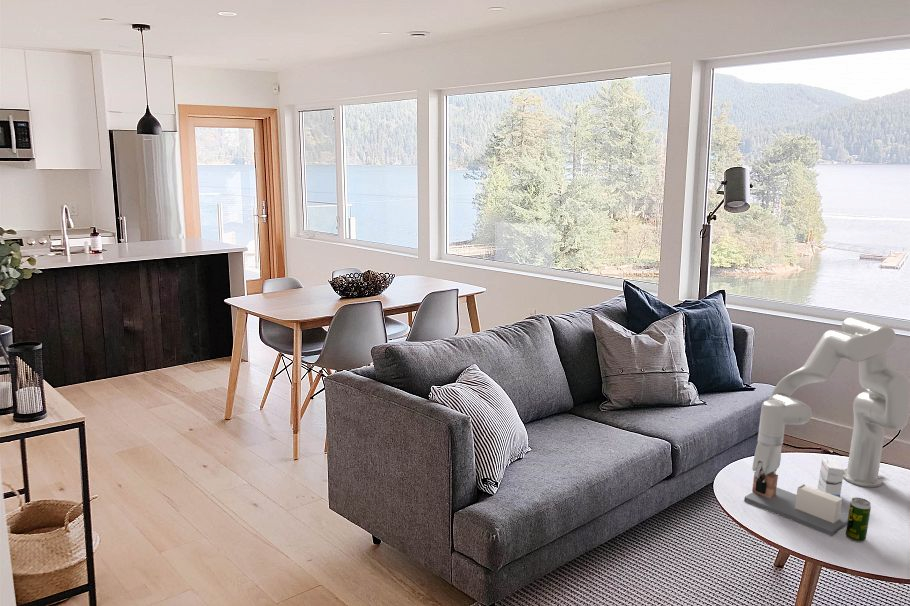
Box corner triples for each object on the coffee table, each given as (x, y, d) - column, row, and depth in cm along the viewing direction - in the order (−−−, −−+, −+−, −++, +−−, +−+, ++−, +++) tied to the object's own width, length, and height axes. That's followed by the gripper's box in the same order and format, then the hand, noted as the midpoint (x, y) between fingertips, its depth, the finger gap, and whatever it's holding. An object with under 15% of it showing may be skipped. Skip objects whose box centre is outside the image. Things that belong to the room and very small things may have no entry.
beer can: (850, 531, 224) (855, 495, 221) (868, 539, 220) (874, 502, 217) (842, 537, 221) (847, 500, 218) (860, 545, 217) (866, 507, 214)
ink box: (840, 503, 242) (844, 469, 239) (823, 501, 243) (828, 468, 240) (832, 491, 250) (837, 458, 247) (816, 489, 251) (821, 457, 248)
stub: (758, 488, 248) (760, 468, 246) (775, 494, 243) (778, 475, 242) (752, 491, 245) (754, 472, 244) (769, 498, 241) (772, 478, 239)
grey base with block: (766, 487, 251) (769, 464, 249) (852, 520, 231) (856, 494, 229) (744, 501, 242) (746, 476, 240) (832, 536, 221) (836, 510, 219)
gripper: (771, 428, 248) (765, 478, 252) (746, 441, 237) (740, 493, 241) (794, 435, 242) (787, 486, 247) (769, 448, 232) (762, 502, 236)
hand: (764, 489), depth 244 cm, fingers open, 4 cm apart
